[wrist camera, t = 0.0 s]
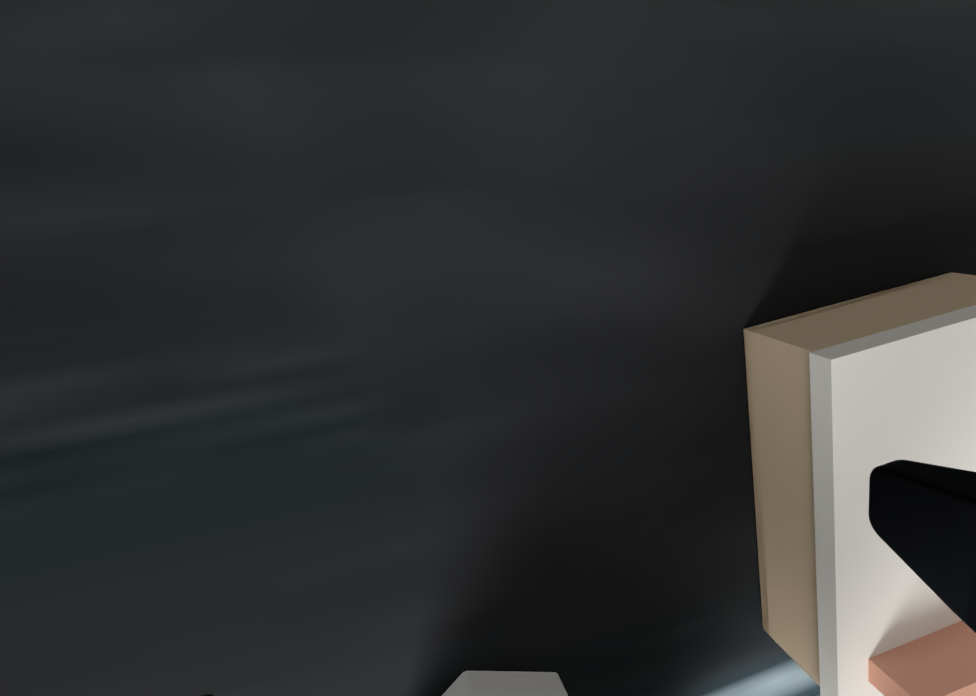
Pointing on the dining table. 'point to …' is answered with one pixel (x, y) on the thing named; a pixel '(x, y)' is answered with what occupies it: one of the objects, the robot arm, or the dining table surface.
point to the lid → (845, 505)
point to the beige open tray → (810, 440)
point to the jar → (507, 684)
